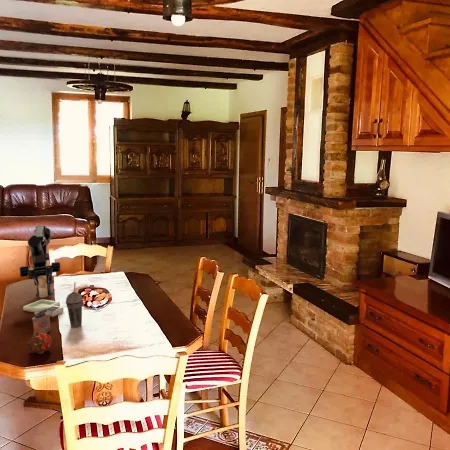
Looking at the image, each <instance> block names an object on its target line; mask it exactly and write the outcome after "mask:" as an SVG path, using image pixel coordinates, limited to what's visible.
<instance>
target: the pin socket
mask: <svg viewBox="0 0 450 450" xmlns="http://www.w3.org/2000/svg"><path fill="white" fill-rule="evenodd" d="M45 309H47V310H48V311H47V312H45V313H49V314H50V316H49V317H52V318H54V317H55V316H58V315H60V314H62V313H65V312H64V307H63V306H53V305H52V306H50V307H48V308H45Z"/></svg>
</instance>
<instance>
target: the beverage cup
mask: <svg viewBox="0 0 450 450" xmlns="http://www.w3.org/2000/svg"><path fill="white" fill-rule="evenodd" d="M83 301H84V300H83V297H82V295H81V294H80V293H79V292H77V291H76V281H74V283H73V292H70V293H69V294H68V295H67V296H66V299H65V304H66V309H67V313H68V318H69V324H70V328H72V329H80V328H82V321H83V320H82V319H83V318H82V317H83Z"/></svg>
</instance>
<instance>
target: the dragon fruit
mask: <svg viewBox="0 0 450 450" xmlns="http://www.w3.org/2000/svg"><path fill="white" fill-rule="evenodd" d="M52 339H53V338H52V337H51V336H50V335H49V334H47V333H44V332H39V333H38V334H35V335H34V334H33V335H32V336H31V338H30V339H29V340H28V341H29V342H28V343H27V346H29V348H28V350H29V351H31V352H34V353H36V354H37V355H38V354H40V355H43V354H44V353H45V352H47V351H48V352H49V351H50V350H51V349H52V346H51V345H52V343H53V340H52Z"/></svg>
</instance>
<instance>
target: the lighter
mask: <svg viewBox="0 0 450 450" xmlns="http://www.w3.org/2000/svg"><path fill="white" fill-rule="evenodd" d="M47 311H48V310H47V309H43V310H41V311H40V310H38V311H37V312H33V314H34V317H32V318H31V320H32V327H33V336H34V335H35V334H38V333H39V332H44V333H46V334H47V333H48V332H50V331H51V330H52V328H51V320H50V317H51V316H50V314H49V313H45V312H47Z"/></svg>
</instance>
